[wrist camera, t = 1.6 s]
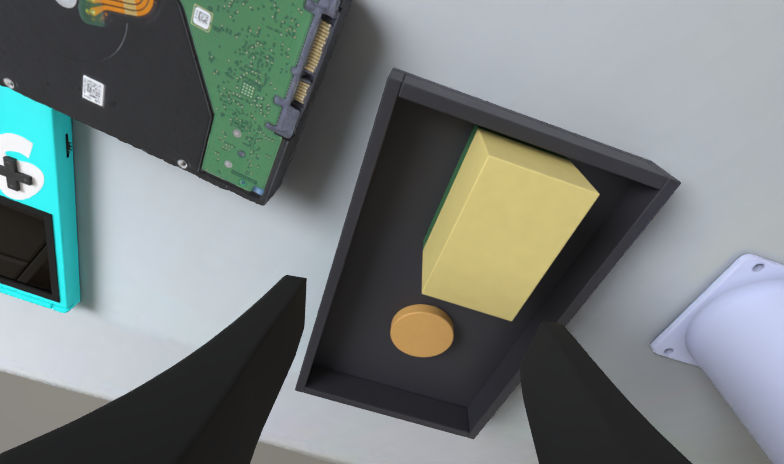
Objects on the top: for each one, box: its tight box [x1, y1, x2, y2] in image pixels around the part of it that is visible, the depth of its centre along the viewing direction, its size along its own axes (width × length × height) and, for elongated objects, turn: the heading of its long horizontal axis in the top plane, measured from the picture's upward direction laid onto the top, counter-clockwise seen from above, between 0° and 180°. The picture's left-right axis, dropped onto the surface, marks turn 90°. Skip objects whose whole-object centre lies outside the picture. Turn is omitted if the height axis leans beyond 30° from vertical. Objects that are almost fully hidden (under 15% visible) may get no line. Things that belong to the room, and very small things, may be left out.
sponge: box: [422, 124, 600, 321], centre depth 18 cm, size 4×7×4 cm, turn 162°
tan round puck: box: [390, 304, 454, 357], centre depth 24 cm, size 4×4×1 cm
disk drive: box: [0, 0, 352, 205], centre depth 16 cm, size 10×3×15 cm
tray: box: [295, 68, 681, 439], centre depth 22 cm, size 13×21×3 cm, turn 162°
